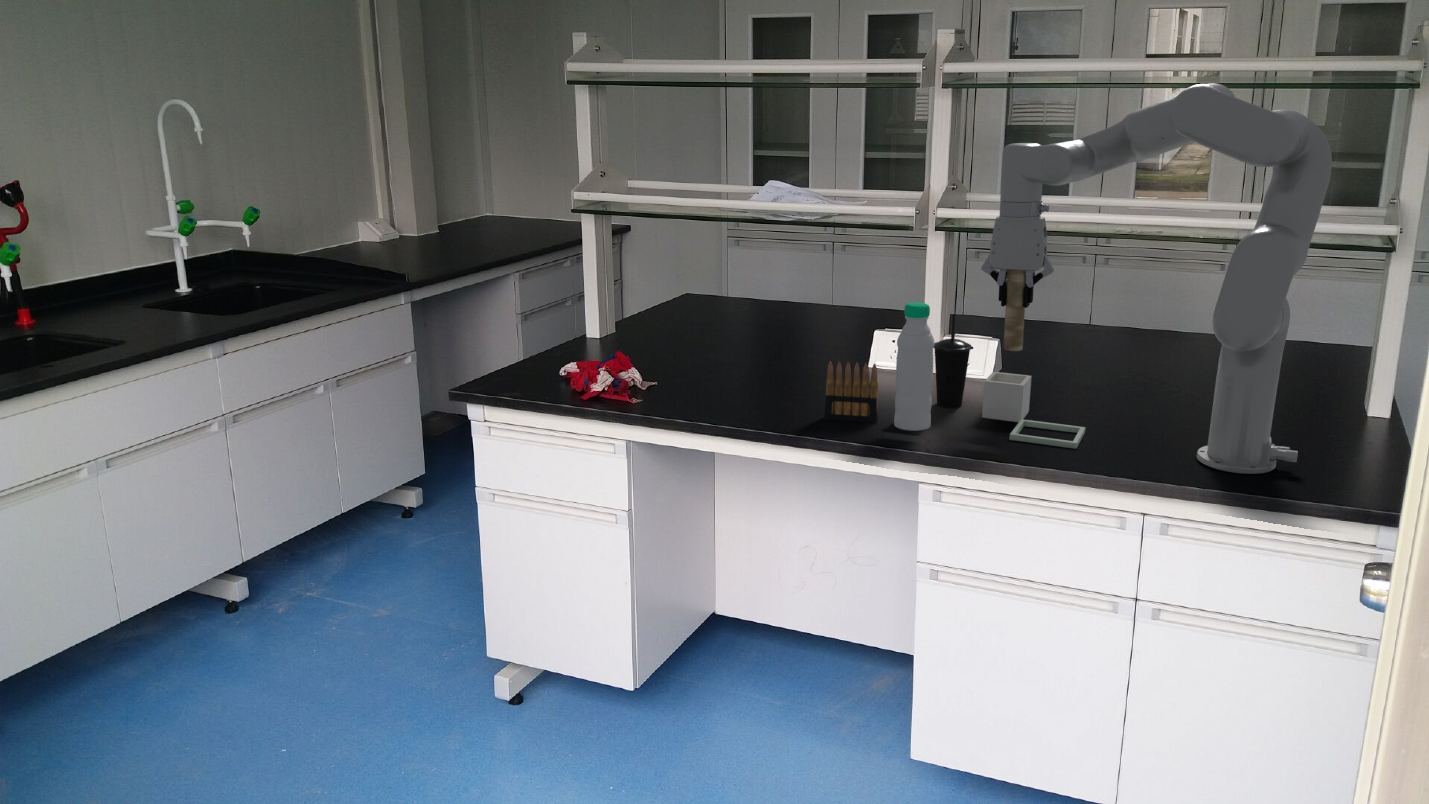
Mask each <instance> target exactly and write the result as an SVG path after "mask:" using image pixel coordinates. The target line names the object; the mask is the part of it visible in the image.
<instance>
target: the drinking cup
mask: <svg viewBox="0 0 1429 804" xmlns="http://www.w3.org/2000/svg"><path fill="white" fill-rule="evenodd" d="M951 315H952V316H951V331H950V332H951V334H950V335H951V336H950V338H945V339H942V340H940V341H936V342H934V348H933V350H934V362H935V363H934V364H935V365H934V367H935V384H936V385H935V391H936V405H937V406H938V407H940V408H944V409H957V408H960V407H962V405H963V398H964V392H965V387H966V378H967V372H968V366H969V365H968V364H969V358H970V354H971V353H970V352H971V350H972V348H973V347H972V344H971V343H968V342H966V341H964V340H962V339H960V338H955V335H956V321H957V319H956V314H954V313H952V314H951Z"/></svg>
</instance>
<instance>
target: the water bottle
mask: <svg viewBox="0 0 1429 804" xmlns="http://www.w3.org/2000/svg"><path fill="white" fill-rule="evenodd" d="M903 312H904V318H905V320H906V321H905V324H904V325H903V327H902V329H901V332H900V334H899V335H898V337H897V340H896V346H897V353H896V363H895V365H896V367H895V369H896V370H895V392H896V393H895V395H894V396H895V397H894V408H895V409H894V410H895V411H894V412H895V413H894V417H893V418H894V419H893V425H894V427H896V428H898V429H900V430H904V431H914V432H915V431H917V432H919V431H924V430H928V429H930V428H931V425H932V422H931V421H932V419H931V418H932V415H931V414H932V413H931V411H932V410H931V409H932V403H933V401H932V400H933V399H932V388H933V378H934V343H935V339H934V336H933V333H932V332H931V328H930V326H929V325H928V319H930V313H931V308H930V305H929V304H927V303H924V302H909V303H907V304H905V306H904V310H903Z"/></svg>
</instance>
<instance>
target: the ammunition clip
mask: <svg viewBox="0 0 1429 804" xmlns="http://www.w3.org/2000/svg"><path fill="white" fill-rule="evenodd" d="M827 365H828V366H827V370H826V371H827V373H826V381H825V402H824V415H823V417H824V418H823V419H824V420H829V421H844V422H858V423H859V422H860V423H874V424H876V423H878V421H879V408H878V407H879V404H878V401H879V399H878V398H879V395H878V394H879V382H878V367H877V365H876V363H873V365H872V368H871V374H870V375H871V376H870V379H869V368H868V363H866V362H865V363H864V366H863V367H862V375H861V373H860V372H861V371H860V366H859V363H858V362H856V363H855V365H854V370H853V376H852V369H851V364H850V362H849V361H847V362H846V366H845V368H844V369H845V371H844V381H843V368H842V363H841V361H838V363H837V365H836V368H835V369H836V370H835V374H836V375H835V379H834V368H833V367H834V366H833V363H832V361H831V360H830V361H829V363H828V364H827ZM860 375H861V376H862V377H861V376H860ZM852 377H853V378H852ZM869 380H870V382H869Z"/></svg>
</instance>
